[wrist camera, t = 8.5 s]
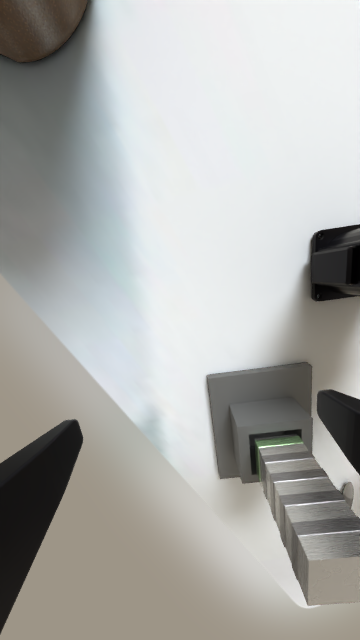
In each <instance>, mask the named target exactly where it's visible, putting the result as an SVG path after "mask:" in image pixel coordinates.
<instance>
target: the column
mask: <svg viewBox="0 0 360 640" xmlns="http://www.w3.org/2000/svg"><path fill="white" fill-rule="evenodd" d="M254 440H255V456H256V471H257V475H258V478H259V481H260V482H261V484H262V487H263V490H264V494H265V497H266V499H267V500H268V503H269V505H270V508H271V512H272V515H273V518H274V520H275V521H276V524H277V526H278V529H279V531H280V536H281V539H282V541H283V544H284V547H286V550H287V552H288V555H289V558H290V560H291V563H292V568H293V571H294V573H295V576H296V578H297V580H298V581H299V584H300V586H301V589H302V592H303V594H304V597H305V599H306V602H307V605H308V606H311V605H325V604H339V603H352V602H360V519H359V517H357V516H356V515H355V514H354V512H353V511H352V510H351V508H350V507H349V505H348V504H347V503H346V500H345V498H344V497H343V495H342V494H341V493H340V491H339V490H337V489H336V488H335V486H334V485H333V483H332V482H331V481H330V479H329V476H328V475H327V474H326V472H325V471H324V470H323V468H321V467H320V466H319V464H318V463H317V461H316V460H315V457H314V456H313V454H312V453H311V452H310V451H309V450H308V449H307V448H306V446H305V445H304V442H303V441H302V439H301V438H300V437H299V436H298V435H297V434H293V435H284V436H274V437H265V438H256V439H254Z"/></svg>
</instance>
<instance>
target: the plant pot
mask: <svg viewBox="0 0 360 640" xmlns="http://www.w3.org/2000/svg"><path fill="white" fill-rule="evenodd" d="M87 1H88V0H0V54H2V55H4V56H6V57H8V58H10V59H12V60H14V61H16V62H19V63H20V62H32V61H36V60H40V59H42V58H44V57H47V56H49V55H50V54H52V53H53V52H55V51H56V50H58V49H59V48H60V47H61V46H62V45H63V44H64V43H65V42H66V41H67V40H68V39H69V38H70V36H71V35H72V33H73V32H74V31H75V29H76V28H77V26H78V24H79V22H80V20H81V18H82V16H83V13H84V11H85V8H86V5H87Z"/></svg>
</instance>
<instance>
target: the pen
mask: <svg viewBox="0 0 360 640" xmlns="http://www.w3.org/2000/svg"><path fill="white" fill-rule="evenodd" d="M342 495H343V497H344V498H345V500H346V503H347V504H348V505H349V507H350V508H351V506H352V501H353V485H352V483H351V482H348V483H347V484H346V485H345V488H344V491H343V494H342Z"/></svg>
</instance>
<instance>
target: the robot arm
mask: <svg viewBox="0 0 360 640" xmlns="http://www.w3.org/2000/svg"><path fill="white" fill-rule="evenodd" d="M319 234H320V235H321V238H320V239H319V237H318V236H319ZM311 282H312V299H313V300H314V301H326V300H333V299H340V298H348V297H355V296H360V224H359V225H352V226H346V227H339V228H333V229H326V230H321V231H318V232H316V233H314V235H313V248H312V261H311ZM318 294H319V297H318V298H317V295H318ZM317 413H318V416H319V417H320V419H321V421H322V422H323V424H324V425H325V426H326V428H327V429H328V431H329V432H330V434H331V435H332V437H333V438H334V440H335V441H336V443H337V444H338V446H339V447H340V449H341V450H342V452H343V453H344V455H345V456H346V457H347V459H348V460H349V462H350V463H351V464H352V466H353V467H354V468H355V470H356V471H357V472H358V473H359V475H360V400H359V399H356V398H354V397H351V396H348V395H345V394H343V393H340V392H337V391H334V390H321V391H319V392H318V394H317ZM82 443H83V435H82V432H81V429H80V426H79V423H78V421H77V420H76V419H72V420H66V421H63V422H62V423H60V424H59V425H58V426H56V427H54V428H53V429H51V430H50V431H48V432H47V433H46V434H44V435H42V436H41V437H39V438H38V439H36V440H35V441H33V442H32V443H30V444H29V445H27V446H26V447H24V448H23V449H21V450H20V451H18V452H17V453H15V454H14V455H12V456H11V457H9V458H8V459H6V460H5V461H3V462H2V463H0V634H1V631H2V629H3V627H4V625H5V623H6V620H7V618H8V616H9V614H10V612H11V609H12V607H13V605H14V603H15V601H16V598H17V596H18V594H19V592H20V589H21V587H22V585H23V583H24V581H25V578H26V576H27V574H28V572H29V570H30V567H31V565H32V563H33V561H34V559H35V557H36V554H37V552H38V550H39V548H40V546H41V543H42V541H43V539H44V537H45V535H46V532H47V530H48V528H49V526H50V523H51V521H52V519H53V517H54V515H55V512H56V510H57V508H58V506H59V504H60V501H61V499H62V497H63V494H64V492H65V490H66V487H67V485H68V482H69V479H70V476H71V474H72V471H73V468H74V465H75V462H76V460H77V457H78V454H79V452H80V449H81V446H82Z"/></svg>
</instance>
